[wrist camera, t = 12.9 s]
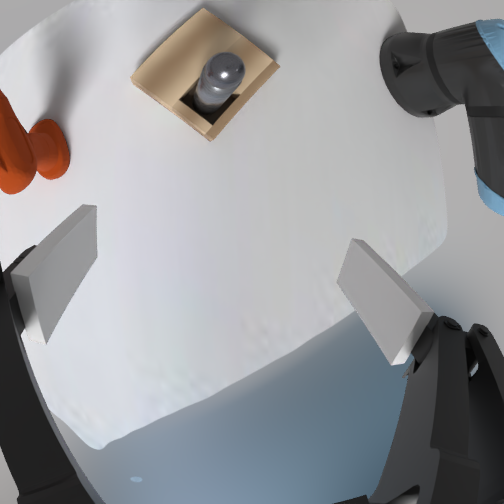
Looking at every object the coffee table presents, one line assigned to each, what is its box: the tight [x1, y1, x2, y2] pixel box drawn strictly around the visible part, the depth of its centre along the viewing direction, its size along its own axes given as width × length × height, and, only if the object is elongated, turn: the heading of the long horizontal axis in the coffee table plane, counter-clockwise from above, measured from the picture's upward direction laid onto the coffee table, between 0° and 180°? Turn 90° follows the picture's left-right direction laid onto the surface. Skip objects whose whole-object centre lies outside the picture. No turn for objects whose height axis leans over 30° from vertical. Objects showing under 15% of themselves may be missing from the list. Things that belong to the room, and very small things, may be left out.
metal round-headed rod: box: [192, 52, 246, 115], centre depth 25 cm, size 3×3×14 cm
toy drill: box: [0, 90, 70, 194], centre depth 19 cm, size 5×19×15 cm, turn 24°
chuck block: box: [130, 8, 280, 142], centre depth 29 cm, size 12×12×3 cm
